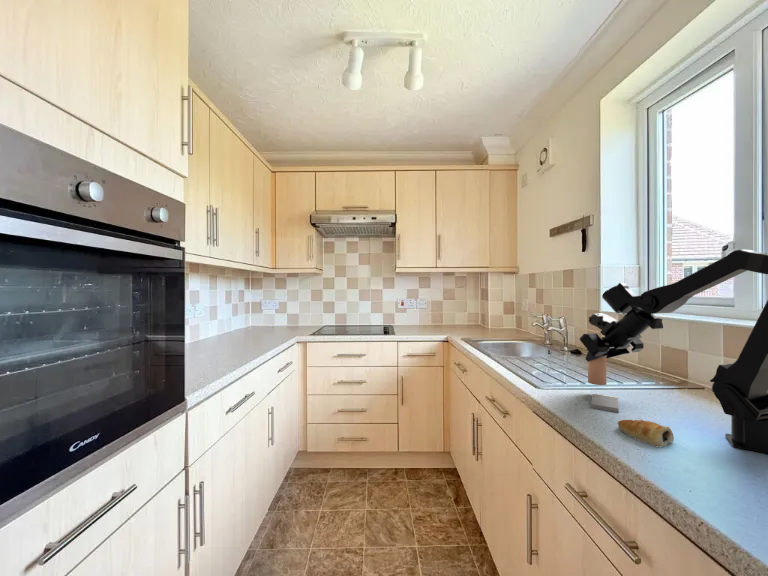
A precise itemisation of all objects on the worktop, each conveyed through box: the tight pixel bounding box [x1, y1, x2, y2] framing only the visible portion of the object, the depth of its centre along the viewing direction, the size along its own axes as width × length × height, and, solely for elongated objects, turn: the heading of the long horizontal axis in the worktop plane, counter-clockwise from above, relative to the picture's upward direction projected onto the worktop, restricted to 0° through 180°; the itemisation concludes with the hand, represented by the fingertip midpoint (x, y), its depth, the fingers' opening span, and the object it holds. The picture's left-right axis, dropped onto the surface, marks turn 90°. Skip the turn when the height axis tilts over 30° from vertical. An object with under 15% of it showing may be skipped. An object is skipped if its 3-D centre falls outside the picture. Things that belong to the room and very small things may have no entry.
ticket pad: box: [590, 393, 619, 413], centre depth 92 cm, size 10×6×1 cm, turn 146°
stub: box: [587, 352, 607, 386], centre depth 100 cm, size 5×5×12 cm
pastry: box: [617, 419, 675, 448], centre depth 73 cm, size 9×7×4 cm
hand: (592, 359), depth 101 cm, fingers closed on stub, 5 cm apart
